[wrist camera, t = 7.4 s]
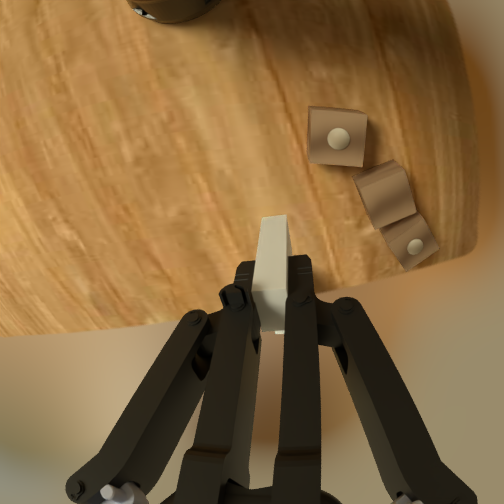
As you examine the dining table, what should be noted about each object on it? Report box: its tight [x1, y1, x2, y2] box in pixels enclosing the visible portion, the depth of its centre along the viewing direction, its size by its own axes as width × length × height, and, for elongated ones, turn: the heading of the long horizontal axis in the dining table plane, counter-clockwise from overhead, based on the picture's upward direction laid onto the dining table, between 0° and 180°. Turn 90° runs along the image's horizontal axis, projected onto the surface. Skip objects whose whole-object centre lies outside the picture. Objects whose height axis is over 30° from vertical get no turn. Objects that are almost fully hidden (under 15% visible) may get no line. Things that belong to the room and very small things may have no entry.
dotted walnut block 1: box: [307, 106, 367, 167], centre depth 35 cm, size 7×7×5 cm
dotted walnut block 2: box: [379, 209, 440, 272], centre depth 42 cm, size 7×7×5 cm
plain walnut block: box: [352, 160, 417, 230], centre depth 39 cm, size 7×7×5 cm
